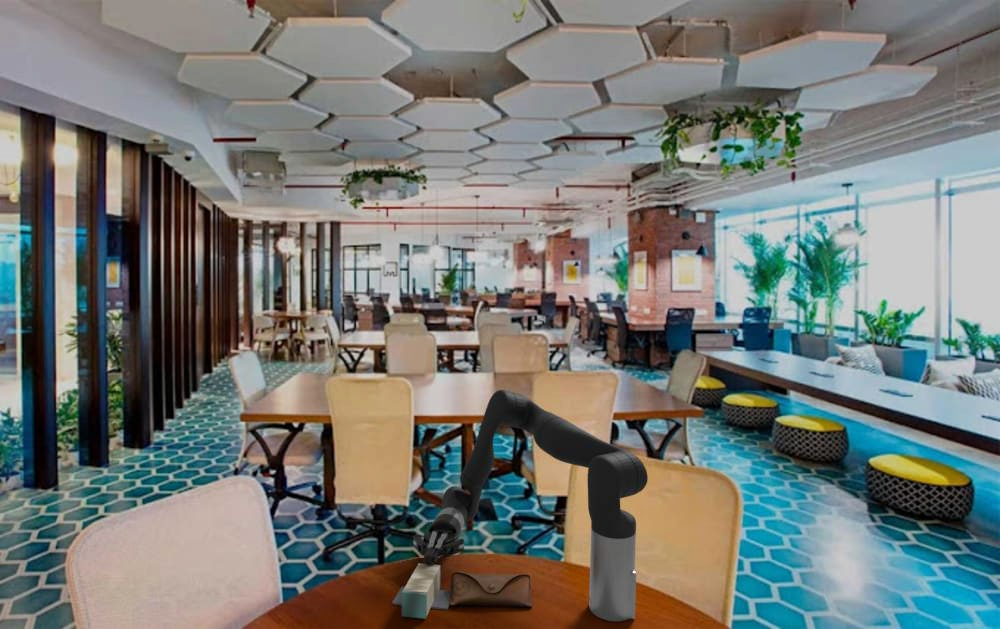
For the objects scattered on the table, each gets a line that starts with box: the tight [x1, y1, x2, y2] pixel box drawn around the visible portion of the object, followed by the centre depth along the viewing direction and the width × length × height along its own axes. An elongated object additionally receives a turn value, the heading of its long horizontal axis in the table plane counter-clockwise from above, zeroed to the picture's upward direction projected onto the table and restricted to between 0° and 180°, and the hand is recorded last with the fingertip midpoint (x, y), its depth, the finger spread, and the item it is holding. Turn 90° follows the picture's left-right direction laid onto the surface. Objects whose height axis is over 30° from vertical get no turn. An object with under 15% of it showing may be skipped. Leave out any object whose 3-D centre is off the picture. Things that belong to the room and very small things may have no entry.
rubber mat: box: [391, 586, 451, 611], centre depth 119 cm, size 12×6×1 cm, turn 82°
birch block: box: [401, 562, 441, 619], centre depth 117 cm, size 5×5×12 cm
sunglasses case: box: [449, 571, 533, 608], centre depth 120 cm, size 18×7×7 cm, turn 93°
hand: (428, 560), depth 123 cm, fingers closed
